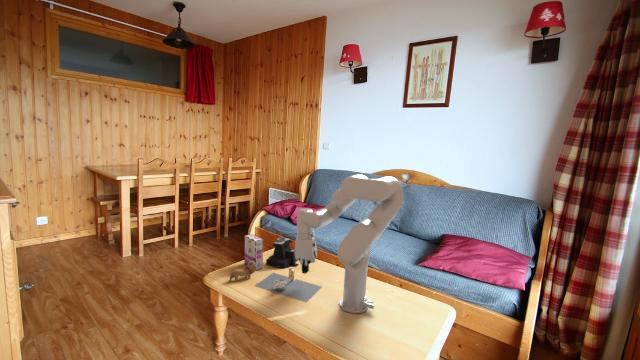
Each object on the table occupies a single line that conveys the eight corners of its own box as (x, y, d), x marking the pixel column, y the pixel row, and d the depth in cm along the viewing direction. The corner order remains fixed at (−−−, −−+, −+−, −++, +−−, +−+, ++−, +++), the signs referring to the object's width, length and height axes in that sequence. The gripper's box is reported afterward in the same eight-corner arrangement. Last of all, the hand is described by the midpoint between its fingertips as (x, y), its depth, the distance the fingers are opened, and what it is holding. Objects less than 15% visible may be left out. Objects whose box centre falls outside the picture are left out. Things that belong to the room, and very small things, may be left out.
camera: (281, 233, 187) (303, 236, 180) (282, 257, 188) (304, 260, 182) (265, 241, 173) (288, 244, 166) (266, 266, 174) (289, 270, 168)
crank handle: (280, 295, 141) (280, 284, 140) (268, 291, 143) (268, 280, 143) (298, 279, 156) (298, 270, 155) (287, 276, 158) (287, 267, 157)
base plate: (322, 289, 151) (322, 286, 151) (306, 304, 137) (306, 302, 136) (273, 274, 163) (273, 272, 163) (254, 288, 149) (254, 285, 148)
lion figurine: (252, 275, 161) (252, 258, 160) (257, 279, 158) (258, 262, 156) (225, 283, 152) (225, 266, 150) (230, 288, 148) (230, 270, 146)
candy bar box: (263, 268, 170) (263, 239, 167) (255, 271, 166) (255, 241, 164) (251, 261, 177) (252, 233, 175) (243, 263, 174) (244, 235, 171)
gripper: (323, 235, 147) (322, 272, 149) (296, 230, 154) (296, 266, 157) (314, 239, 140) (314, 279, 143) (287, 234, 148) (287, 272, 150)
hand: (305, 272), depth 150 cm, fingers closed
